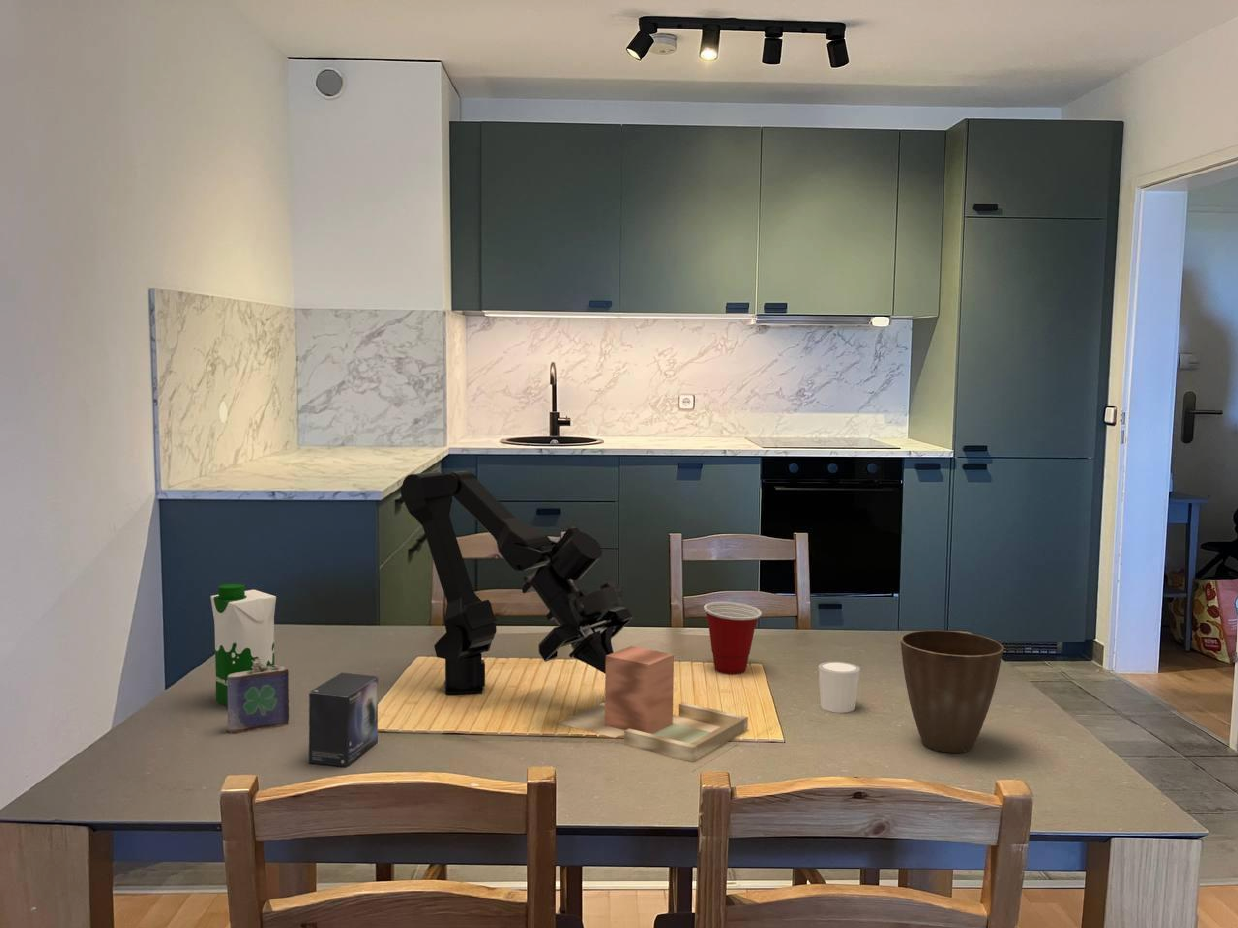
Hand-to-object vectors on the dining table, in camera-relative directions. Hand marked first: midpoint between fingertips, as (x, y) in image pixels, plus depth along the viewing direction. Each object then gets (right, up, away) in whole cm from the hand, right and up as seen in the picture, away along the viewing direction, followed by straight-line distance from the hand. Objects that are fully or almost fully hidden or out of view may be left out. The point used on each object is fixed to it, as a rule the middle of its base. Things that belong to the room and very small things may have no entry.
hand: (616, 676), depth 167 cm
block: (+3, -7, -2) cm, 8 cm away
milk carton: (-62, -7, +11) cm, 63 cm away
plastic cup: (+21, -6, +33) cm, 40 cm away
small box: (-40, -9, -11) cm, 42 cm away
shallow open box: (+5, -9, -2) cm, 10 cm away
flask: (-56, -8, -1) cm, 56 cm away
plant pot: (+50, -10, -4) cm, 52 cm away
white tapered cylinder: (+37, -8, +13) cm, 40 cm away
